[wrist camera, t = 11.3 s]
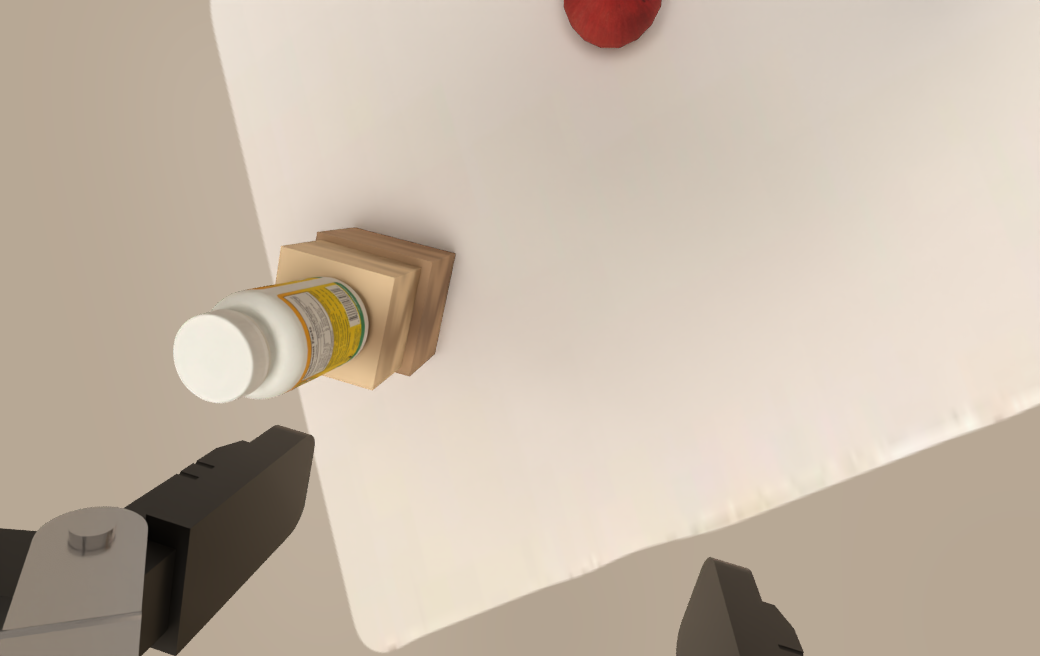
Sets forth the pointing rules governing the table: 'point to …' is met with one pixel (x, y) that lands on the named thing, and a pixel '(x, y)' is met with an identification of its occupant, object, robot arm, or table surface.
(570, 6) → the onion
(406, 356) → the tower base
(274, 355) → the supplement bottle
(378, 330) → the tower top
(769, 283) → the table surface
